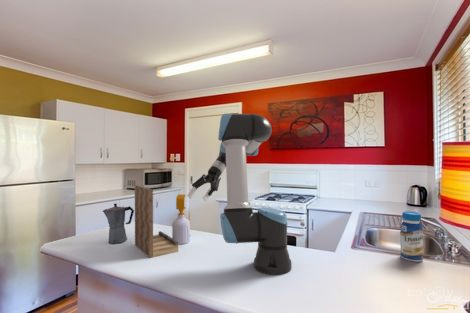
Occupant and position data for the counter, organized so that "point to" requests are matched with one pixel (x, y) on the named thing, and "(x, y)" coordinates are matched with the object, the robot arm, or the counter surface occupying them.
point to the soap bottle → (181, 223)
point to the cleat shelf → (149, 227)
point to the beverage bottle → (411, 236)
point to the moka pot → (117, 223)
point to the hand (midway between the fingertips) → (196, 198)
